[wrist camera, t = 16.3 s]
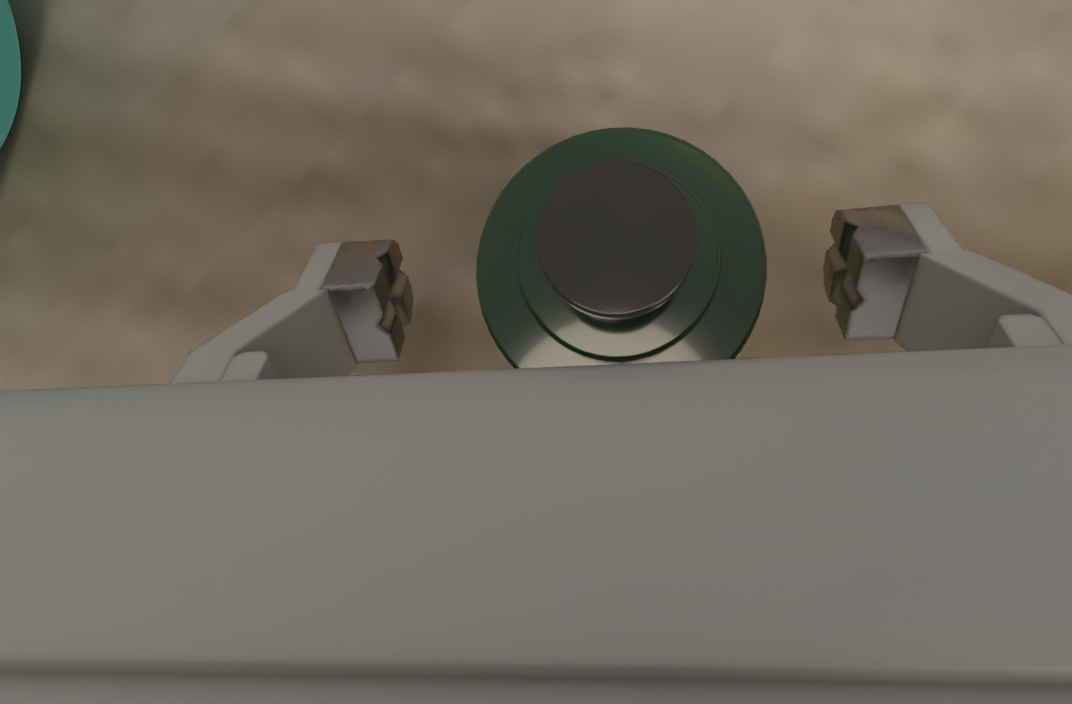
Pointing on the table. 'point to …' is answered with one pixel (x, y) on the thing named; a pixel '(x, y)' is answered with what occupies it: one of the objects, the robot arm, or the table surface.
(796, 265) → the table surface
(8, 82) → the decorative dice
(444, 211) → the table surface
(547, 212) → the bottle
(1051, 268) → the table surface
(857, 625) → the robot arm
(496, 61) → the table surface
